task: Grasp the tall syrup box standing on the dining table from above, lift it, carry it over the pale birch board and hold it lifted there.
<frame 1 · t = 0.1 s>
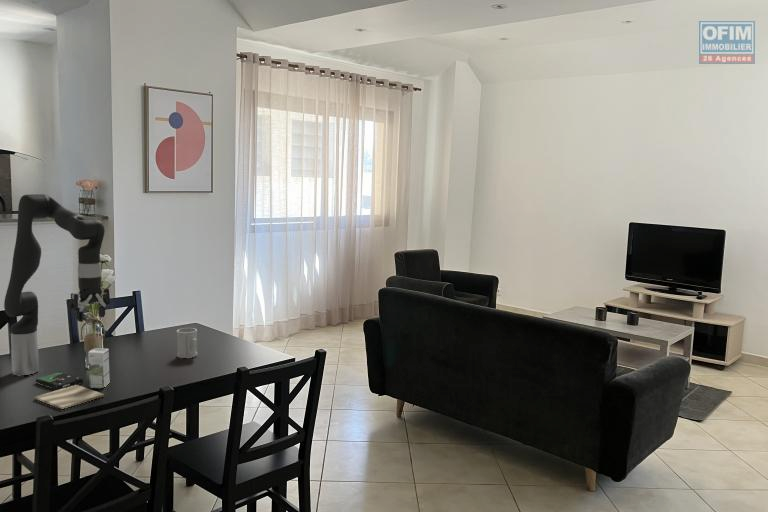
hand: (91, 319, 225), 29 cm above the table, tool pointing down, fingers open, 8 cm apart
disk drive: (59, 385, 241), on the table
cup: (188, 356, 281), on the table
birch board: (69, 398, 226), on the table
syrup box: (99, 386, 239), on the table
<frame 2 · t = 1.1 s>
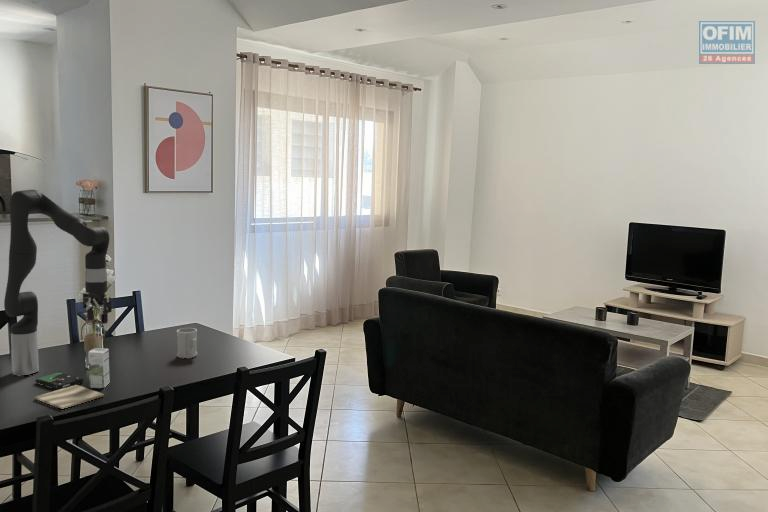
hand: (97, 321, 236), 26 cm above the table, tool pointing down, fingers open, 8 cm apart
nothing on the table moved.
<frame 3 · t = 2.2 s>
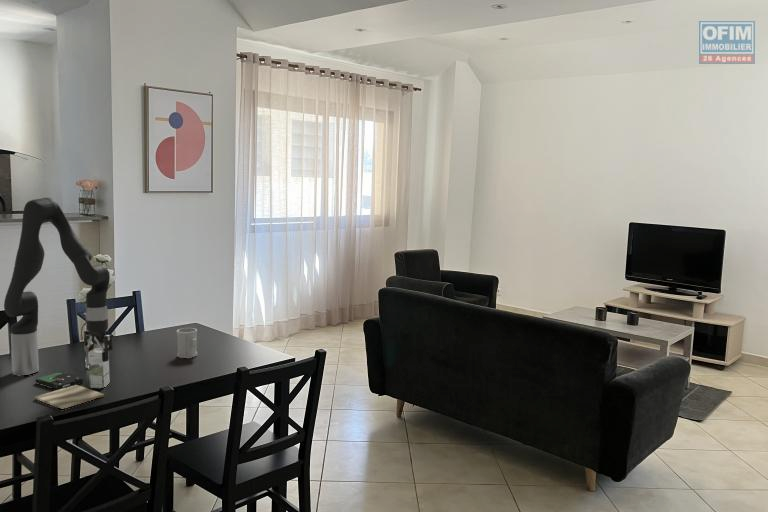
hand: (98, 359, 237), 11 cm above the table, tool pointing down, fingers open, 8 cm apart
syrup box: (99, 386, 239), on the table, touching gripper
everything else where it was.
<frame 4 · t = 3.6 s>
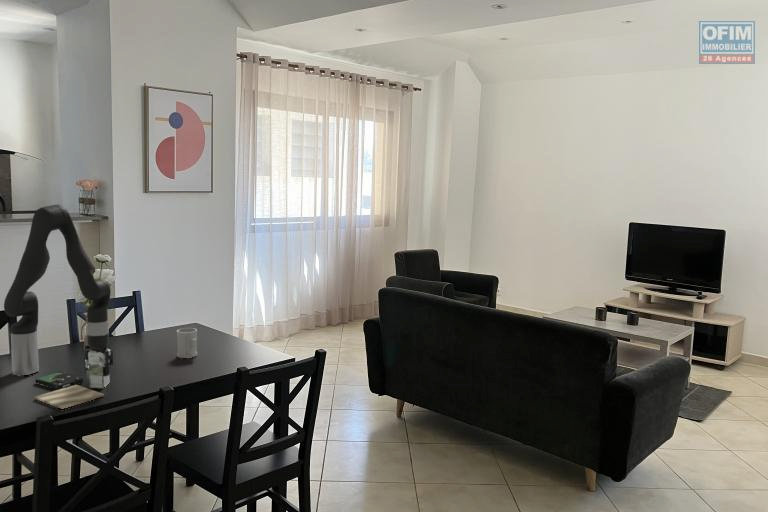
hand: (99, 373, 238), 5 cm above the table, tool pointing down, fingers closed on syrup box, 8 cm apart
syrup box: (99, 386, 239), on the table, touching gripper
everything else where it was.
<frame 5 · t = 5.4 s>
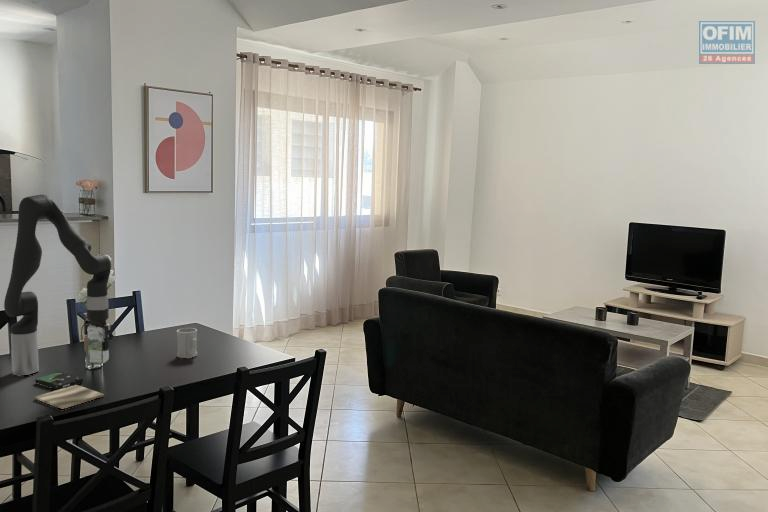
hand: (98, 348, 237), 15 cm above the table, tool pointing down, fingers closed on syrup box, 8 cm apart
syrup box: (98, 361, 238), point 10 cm above the table, touching gripper
everything else where it was.
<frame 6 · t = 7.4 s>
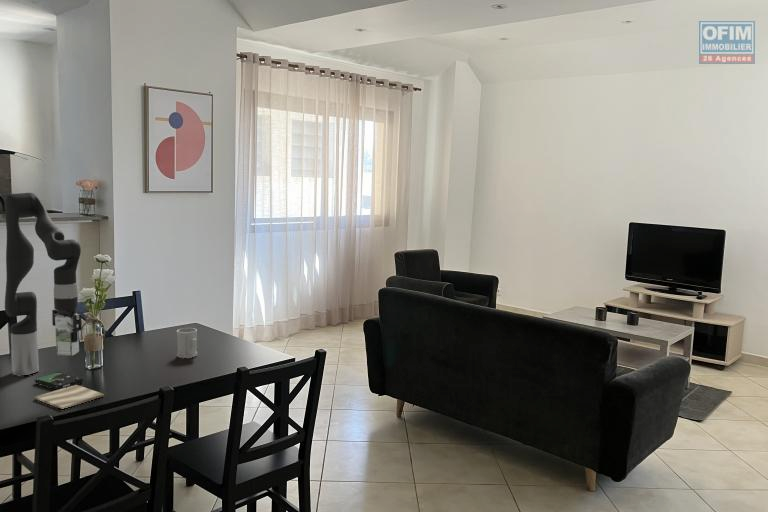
hand: (67, 340, 223), 22 cm above the table, tool pointing down, fingers closed on syrup box, 8 cm apart
syrup box: (67, 354, 224), point 17 cm above the table, touching gripper
everything else where it was.
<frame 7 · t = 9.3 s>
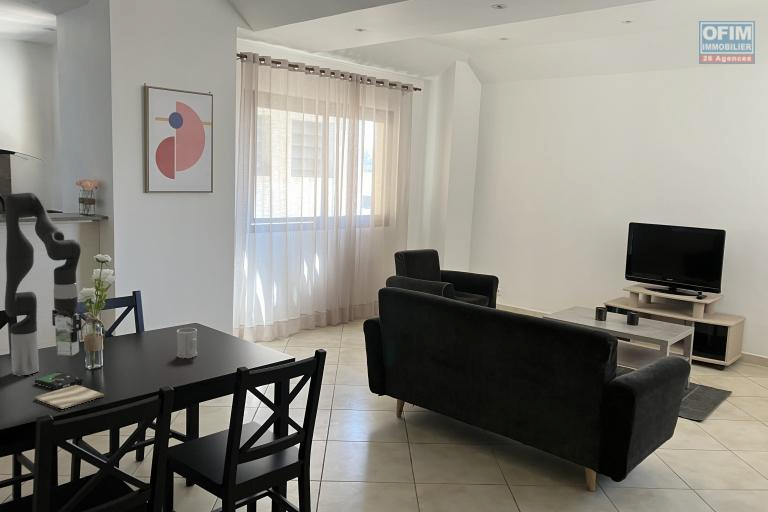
hand: (67, 340, 223), 22 cm above the table, tool pointing down, fingers closed on syrup box, 8 cm apart
syrup box: (67, 354, 224), point 17 cm above the table, touching gripper
everything else where it was.
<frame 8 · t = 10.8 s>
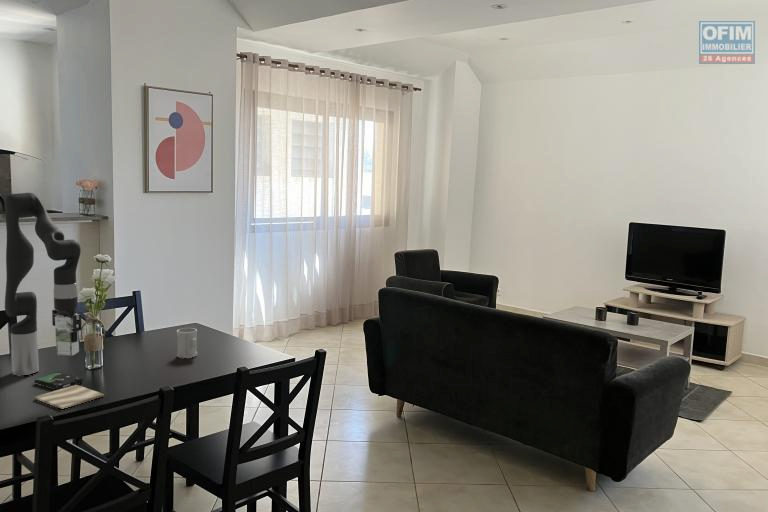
hand: (67, 340, 223), 22 cm above the table, tool pointing down, fingers closed on syrup box, 8 cm apart
syrup box: (67, 354, 224), point 17 cm above the table, touching gripper
everything else where it was.
at the end: the gripper is holding syrup box; syrup box point 16.6 cm above the table; syrup box inside the target area (0.1 cm from its centre), point 16.6 cm above the table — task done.
